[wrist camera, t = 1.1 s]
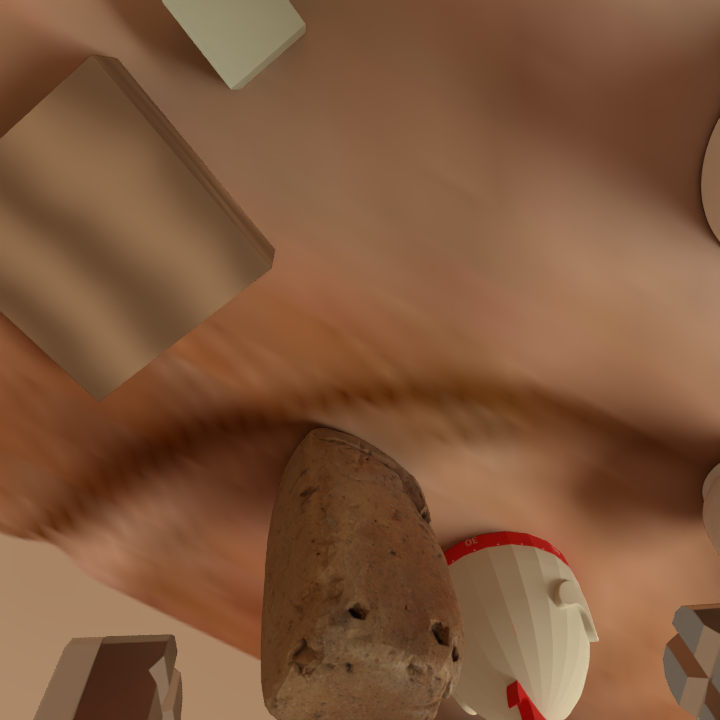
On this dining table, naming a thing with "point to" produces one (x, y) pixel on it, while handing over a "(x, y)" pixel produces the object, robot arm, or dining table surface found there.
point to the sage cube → (239, 33)
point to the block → (355, 591)
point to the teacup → (712, 506)
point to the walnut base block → (114, 229)
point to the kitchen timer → (519, 628)
